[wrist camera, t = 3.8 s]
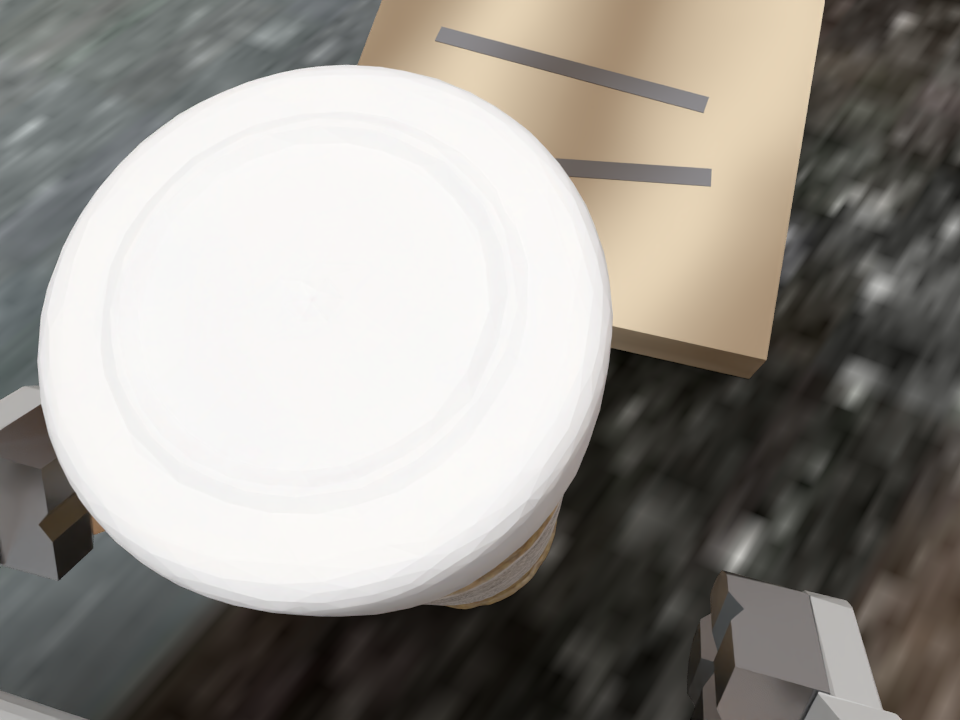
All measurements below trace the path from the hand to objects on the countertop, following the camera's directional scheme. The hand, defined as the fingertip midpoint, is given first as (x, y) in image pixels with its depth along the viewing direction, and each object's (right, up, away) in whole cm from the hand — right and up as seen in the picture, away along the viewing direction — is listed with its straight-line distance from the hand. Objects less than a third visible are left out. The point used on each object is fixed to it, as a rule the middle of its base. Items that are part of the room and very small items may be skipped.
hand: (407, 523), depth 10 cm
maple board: (+4, +9, +11) cm, 15 cm away
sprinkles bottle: (+1, -2, +8) cm, 9 cm away
